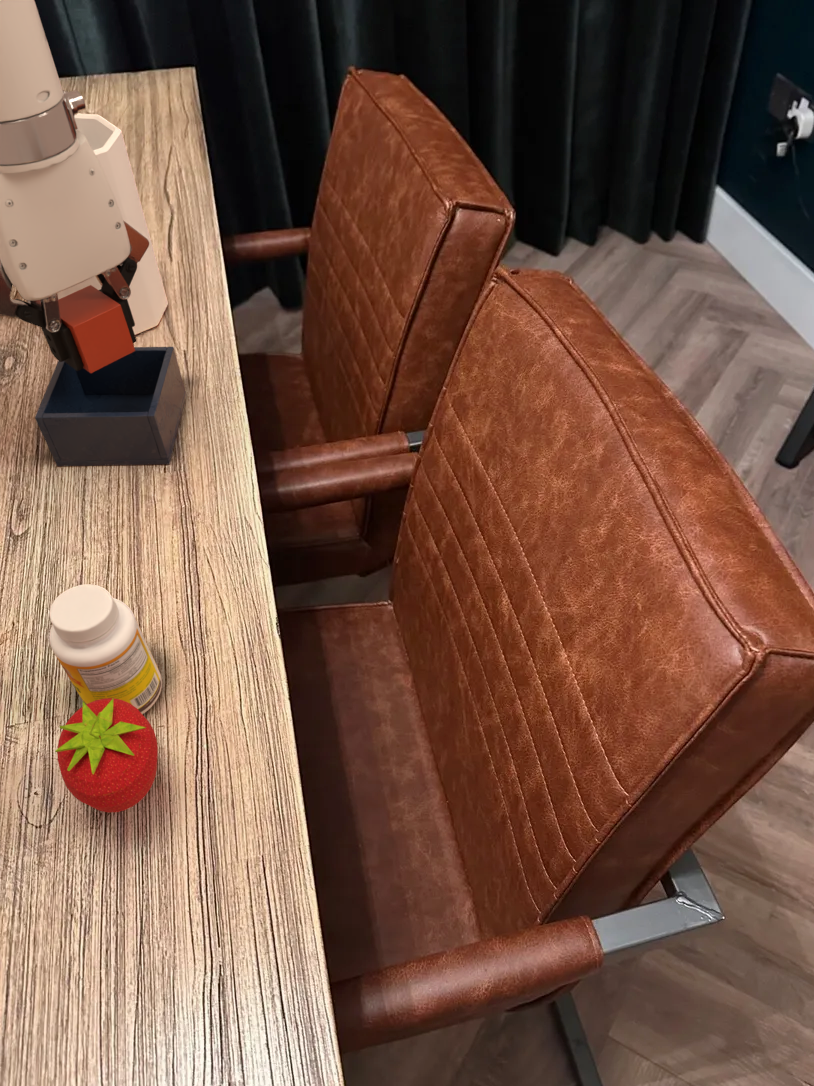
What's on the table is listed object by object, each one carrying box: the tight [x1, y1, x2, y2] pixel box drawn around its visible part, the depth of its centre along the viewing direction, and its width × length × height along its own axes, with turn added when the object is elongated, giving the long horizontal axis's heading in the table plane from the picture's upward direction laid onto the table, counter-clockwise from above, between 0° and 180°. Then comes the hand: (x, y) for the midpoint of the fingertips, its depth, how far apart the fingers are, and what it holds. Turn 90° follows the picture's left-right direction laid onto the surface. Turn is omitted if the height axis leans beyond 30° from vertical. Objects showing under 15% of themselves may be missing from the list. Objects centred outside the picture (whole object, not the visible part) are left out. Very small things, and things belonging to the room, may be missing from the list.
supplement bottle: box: [48, 583, 163, 715], centre depth 60 cm, size 6×6×10 cm
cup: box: [57, 113, 169, 336], centre depth 88 cm, size 11×11×18 cm
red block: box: [58, 285, 135, 373], centre depth 74 cm, size 4×4×4 cm
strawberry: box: [54, 698, 159, 813], centre depth 55 cm, size 6×8×10 cm
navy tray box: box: [34, 346, 187, 467], centre depth 80 cm, size 10×10×6 cm
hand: (97, 348), depth 75 cm, fingers closed on red block, 4 cm apart
